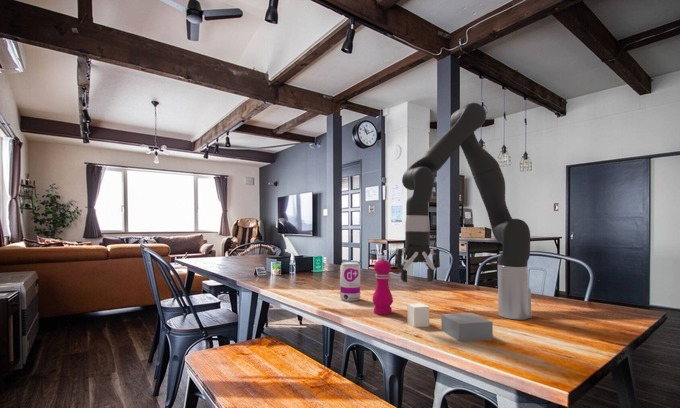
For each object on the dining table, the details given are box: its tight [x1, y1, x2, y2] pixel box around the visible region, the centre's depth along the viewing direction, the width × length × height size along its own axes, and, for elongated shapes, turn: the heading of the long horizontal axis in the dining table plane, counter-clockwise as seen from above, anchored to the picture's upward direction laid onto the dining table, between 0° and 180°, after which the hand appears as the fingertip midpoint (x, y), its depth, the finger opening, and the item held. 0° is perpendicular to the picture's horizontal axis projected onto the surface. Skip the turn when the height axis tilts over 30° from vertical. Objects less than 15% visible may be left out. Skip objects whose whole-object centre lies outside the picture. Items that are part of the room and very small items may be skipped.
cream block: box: [406, 302, 430, 328], centre depth 108 cm, size 5×5×6 cm
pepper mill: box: [372, 255, 394, 316], centre depth 123 cm, size 7×7×20 cm
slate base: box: [440, 312, 494, 343], centre depth 98 cm, size 10×10×5 cm
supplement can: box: [339, 261, 361, 302], centre depth 144 cm, size 8×8×15 cm
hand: (417, 281), depth 109 cm, fingers open, 8 cm apart
